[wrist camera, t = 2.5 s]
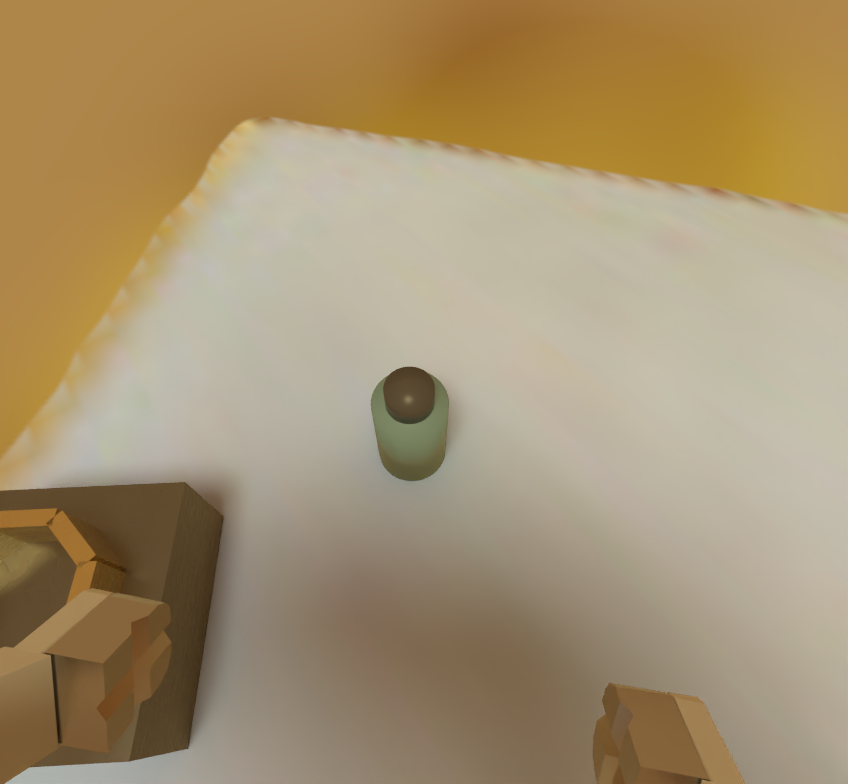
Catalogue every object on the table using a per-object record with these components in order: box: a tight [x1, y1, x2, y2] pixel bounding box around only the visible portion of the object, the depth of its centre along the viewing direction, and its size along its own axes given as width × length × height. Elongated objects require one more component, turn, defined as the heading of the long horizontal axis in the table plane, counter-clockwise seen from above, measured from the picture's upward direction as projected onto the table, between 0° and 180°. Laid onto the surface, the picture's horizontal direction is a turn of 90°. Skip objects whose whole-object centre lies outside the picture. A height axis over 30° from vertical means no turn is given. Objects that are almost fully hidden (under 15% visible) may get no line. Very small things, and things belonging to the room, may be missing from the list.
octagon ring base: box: [0, 482, 223, 767], centre depth 25 cm, size 12×12×8 cm
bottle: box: [371, 367, 449, 481], centre depth 31 cm, size 4×4×8 cm
